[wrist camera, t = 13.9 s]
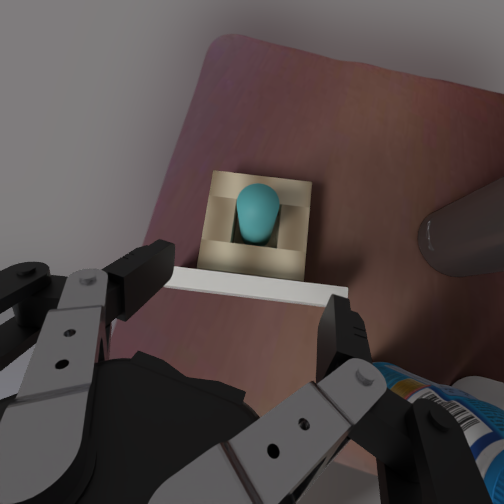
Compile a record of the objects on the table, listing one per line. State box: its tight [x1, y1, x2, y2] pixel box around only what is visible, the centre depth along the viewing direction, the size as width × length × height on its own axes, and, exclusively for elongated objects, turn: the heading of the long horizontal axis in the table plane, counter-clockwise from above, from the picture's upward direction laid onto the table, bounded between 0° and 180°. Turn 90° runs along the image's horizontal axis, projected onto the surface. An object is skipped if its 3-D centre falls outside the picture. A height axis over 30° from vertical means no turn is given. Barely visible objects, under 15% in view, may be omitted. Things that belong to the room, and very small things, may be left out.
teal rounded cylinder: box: [237, 183, 280, 247], centre depth 29 cm, size 4×4×10 cm
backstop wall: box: [163, 266, 348, 307], centre depth 29 cm, size 20×2×7 cm, turn 83°
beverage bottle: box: [373, 362, 504, 504], centre depth 20 cm, size 8×8×20 cm
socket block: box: [197, 170, 312, 282], centre depth 32 cm, size 12×12×5 cm
